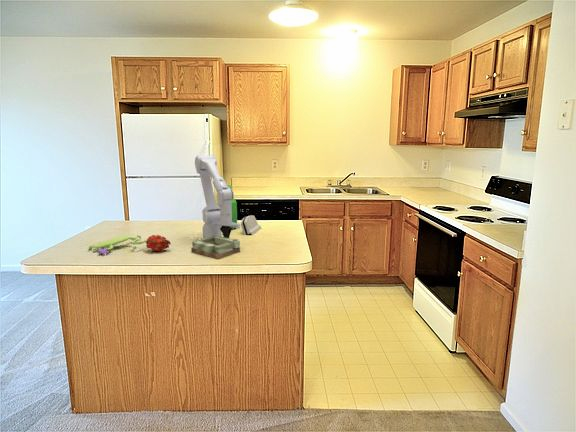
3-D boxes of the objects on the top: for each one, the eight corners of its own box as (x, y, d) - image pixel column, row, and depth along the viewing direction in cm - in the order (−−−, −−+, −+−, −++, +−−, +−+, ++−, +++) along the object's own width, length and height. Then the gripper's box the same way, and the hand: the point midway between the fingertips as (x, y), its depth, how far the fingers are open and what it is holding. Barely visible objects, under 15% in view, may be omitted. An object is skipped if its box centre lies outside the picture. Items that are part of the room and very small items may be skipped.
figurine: (151, 250, 186) (150, 239, 185) (89, 258, 174) (88, 246, 173) (146, 241, 202) (145, 230, 201) (89, 248, 190) (87, 237, 189)
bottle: (240, 227, 228) (239, 185, 223) (230, 230, 221) (229, 187, 215) (228, 225, 233) (227, 184, 227) (218, 228, 225) (217, 186, 220)
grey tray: (191, 251, 183) (190, 241, 181) (213, 244, 194) (213, 235, 192) (218, 259, 172) (217, 248, 171) (240, 251, 183) (239, 241, 182)
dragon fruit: (145, 253, 186) (170, 257, 186) (140, 247, 178) (165, 251, 178) (150, 236, 189) (175, 240, 189) (145, 230, 182) (170, 234, 181)
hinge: (252, 235, 211) (246, 218, 210) (244, 237, 212) (238, 220, 211) (261, 228, 227) (255, 212, 226) (254, 230, 228) (248, 214, 227)
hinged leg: (239, 246, 182) (239, 239, 182) (235, 248, 180) (235, 241, 179) (219, 241, 191) (218, 235, 190) (214, 243, 188) (214, 236, 188)
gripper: (243, 213, 188) (243, 240, 190) (218, 211, 193) (219, 237, 196) (235, 216, 181) (236, 244, 184) (209, 213, 187) (210, 240, 190)
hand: (226, 241), depth 190 cm, fingers closed, pressing on hinged leg
